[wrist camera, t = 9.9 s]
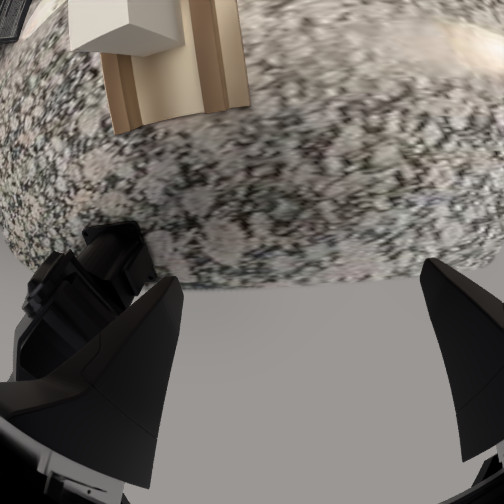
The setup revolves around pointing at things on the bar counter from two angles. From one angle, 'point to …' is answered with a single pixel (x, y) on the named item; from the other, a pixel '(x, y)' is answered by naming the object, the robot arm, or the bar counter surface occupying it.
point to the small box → (12, 19)
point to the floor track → (181, 71)
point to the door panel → (125, 26)
